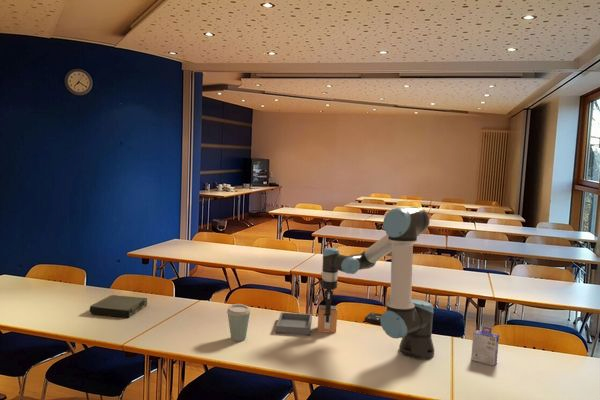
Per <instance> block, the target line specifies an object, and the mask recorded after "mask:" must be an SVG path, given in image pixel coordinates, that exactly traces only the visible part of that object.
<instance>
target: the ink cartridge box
mask: <svg viewBox="0 0 600 400" xmlns="http://www.w3.org/2000/svg"><path fill="white" fill-rule="evenodd" d="M481 329H482V330H477V329H476V330H475V331H474V332H473V334H472V344H471V354H470V355H471V356H470V360H471V361H474V362H478V363H482V364H486V365H489V366H495V365H496V364H497V362H498V353H499V341H500V340H499V339H500V334H499V333H498V334H497V333H492V330H493V328H492V327H487V326H482V328H481ZM488 330H489V331H488Z"/></svg>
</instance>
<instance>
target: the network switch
mask: <svg viewBox="0 0 600 400" xmlns="http://www.w3.org/2000/svg"><path fill="white" fill-rule="evenodd" d="M147 305H148V298H147V297H137V296H129V295H128V296H127V295H117V294H112V295H108V296H106V297H104V298H102V299H100V300H99V301H97V302H95V303H93V304H91V305H90V306H89V312H90V314H92V315H95V316H105V317H114V318H122V319H129V318H130V317H132V316H133V315H135V314H136V313H138V312H139V311H140V310H142V309H143V308H144V307H147Z"/></svg>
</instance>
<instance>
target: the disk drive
mask: <svg viewBox="0 0 600 400" xmlns="http://www.w3.org/2000/svg"><path fill="white" fill-rule="evenodd" d="M382 314H383V313H382ZM382 314H381V313H376V312H370V313H368V314H367V315H366V316H365V317H364V322H366V323H371V324H376V325H379V326H381V316H382Z"/></svg>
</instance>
